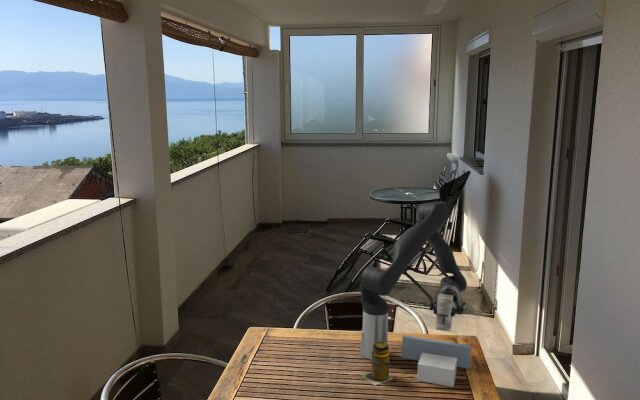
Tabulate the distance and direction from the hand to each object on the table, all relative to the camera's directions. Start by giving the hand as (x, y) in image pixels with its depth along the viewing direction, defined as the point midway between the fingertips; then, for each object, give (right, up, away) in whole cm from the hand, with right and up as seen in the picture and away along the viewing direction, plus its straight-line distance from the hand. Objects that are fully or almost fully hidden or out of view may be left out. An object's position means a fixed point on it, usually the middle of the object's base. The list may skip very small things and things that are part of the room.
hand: (443, 313), depth 194 cm
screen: (-3, -18, +2) cm, 18 cm away
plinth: (-5, -20, -9) cm, 22 cm away
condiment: (-25, -20, -10) cm, 33 cm away
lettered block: (+1, -6, +4) cm, 7 cm away
